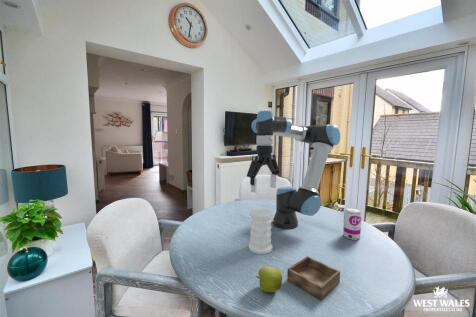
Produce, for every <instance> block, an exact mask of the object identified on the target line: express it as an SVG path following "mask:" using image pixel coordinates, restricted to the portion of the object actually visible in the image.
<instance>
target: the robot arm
mask: <svg viewBox="0 0 476 317" xmlns="http://www.w3.org/2000/svg"><path fill="white" fill-rule="evenodd" d="M251 130H252V131H253V132H254V133H256V149H255V150H256V151H255V152H256V154H257V155H252V157H251V162H250V165H249V168H248V171H247V173H246V177H248V178H250V179H249V180H250V192H251V193H255V194H256V193H257V179H258V178H257V175H258V173H259V172H260V170H261V168H262V167H263V166H267V167H268V169H269V171H270V173H271V174H270V179H269V180H270V182H269V183H270V185H269V186H270V187H269V188H272V189H276V184H277V176H279V173H280V169H279V165H278V162H277V159H276V158H277V156H276V154H273V151H274V150H273V149H274V146H273V145H274V144H273V140H274V139H273V138H274V136H279V137H282V138H283V137H284V138H290V139H294V140H295V141H297V142H301V143H306V144H309V145H312V147H313V150H312V153H311V156H310V159H309V163H308V166H307V169H306V172H305V175H304V178H303V182H302V185H300V186H299V187H298V189H297V187H295V186H281V187H279V188H277V189H276V201H275V203H276V205H275V206H276V207H275V209H276V211H275V214H274V217H273V220H272V222H273V225H274V226H275V227H278V228H281V229H287V230H288V229H295V228H297V227H298V226H299V220H298V216H297V213H299V214H302V215H304V216H308V217H312V216H315V215H316V214H317V213H318V212H319V210H320V208H321V206H322V199H321V197H320V193H319V191H318V190H319V186H320V184H321V180H322V176H323V173H324V169H325V166H326V164H327V163H326V162H327V160H328V157H329V154H330V152H331V151H333V149H334V146H338V144H339V143H340V141H341V132H340V129H339V128H338V126H337V125H336V124H321V125H320V124H319V125H306V126H305V125H293V122H292V120H291V118H290V117H286V116H275V115H274V112H273V111H272V110H260V111H258V112H257V114H256V118H255V119H254V120H253V121H252V122H251Z"/></svg>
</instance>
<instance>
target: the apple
mask: <svg viewBox="0 0 476 317" xmlns="http://www.w3.org/2000/svg"><path fill="white" fill-rule="evenodd" d="M255 278H257V279H259V287H260V289H261V290H262V291H263V292H265V293H274V292H276V291H278V290H280V288H281V286H282V283H283V275H282V272H281V271H280V270H279V269H277V268H276V267H273V266H269V265H265V266H264V265H263V266H262V267H261V268H260V269H259V270H258V274H257V275H256V276H255Z"/></svg>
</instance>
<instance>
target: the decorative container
mask: <svg viewBox="0 0 476 317" xmlns="http://www.w3.org/2000/svg"><path fill="white" fill-rule="evenodd" d="M249 216H250V226H249V227H250V231H249V233H250V238H249V239H250V242H249V243H248V250H249V251H250V252H252V253H254V254H257V255H265V254H270V253H271V252H272V251H273V243H271V242H272V238H271V237H272V231H271V230H272V217H273V211H272V210H270V209H268V208H263V207H262V208H261V207H260V208H253V209H250V210H249Z"/></svg>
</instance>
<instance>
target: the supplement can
mask: <svg viewBox="0 0 476 317" xmlns="http://www.w3.org/2000/svg"><path fill="white" fill-rule="evenodd" d="M362 216H363V215H362V212H361V210H360V209H358V208H355V207H346V208H345V210H344V212H343V228H342V230H343V231H342V234H343V236H344V237H345V238H346V239H348V240H353V241H357V240H359V239H361V228H362Z"/></svg>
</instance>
